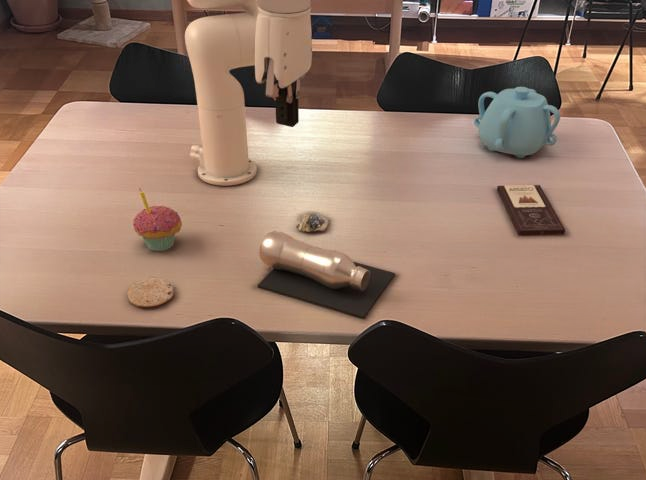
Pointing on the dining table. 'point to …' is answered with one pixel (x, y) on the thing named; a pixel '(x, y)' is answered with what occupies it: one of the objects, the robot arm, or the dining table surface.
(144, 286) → the flatbread
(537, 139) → the decorative pot
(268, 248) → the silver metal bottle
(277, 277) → the mat
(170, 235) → the cupcake
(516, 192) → the chocolate bar
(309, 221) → the mineral rock
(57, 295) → the dining table surface
